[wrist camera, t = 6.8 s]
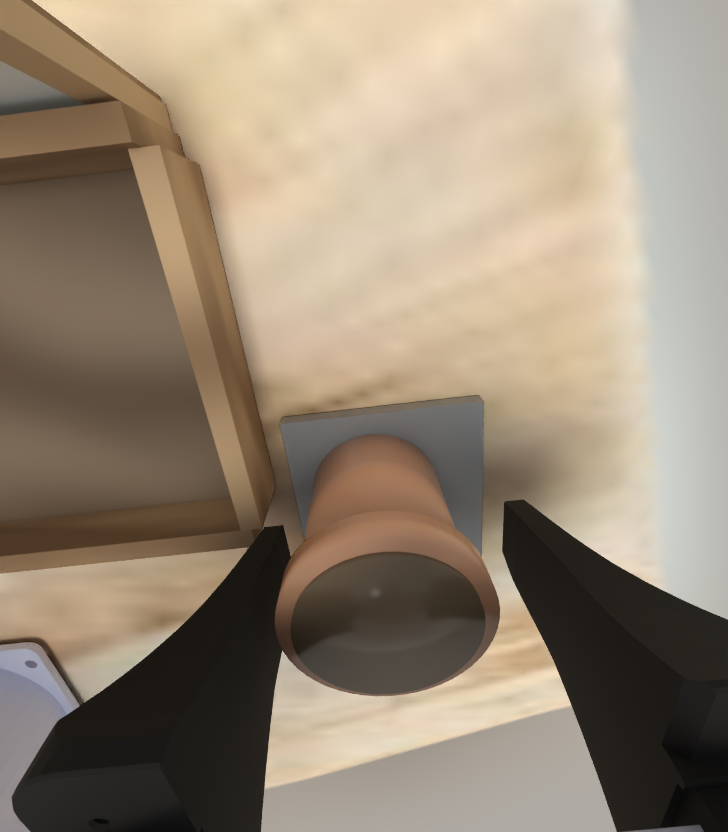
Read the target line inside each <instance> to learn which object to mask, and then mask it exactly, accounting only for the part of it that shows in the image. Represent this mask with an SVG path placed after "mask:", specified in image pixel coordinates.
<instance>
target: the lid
mask: <svg viewBox="0 0 728 832" xmlns="http://www.w3.org/2000/svg"><path fill="white" fill-rule="evenodd" d="M112 101H122V102H123V103H125V104H127V105H128V106H130V107H132V108H133V109H135V110H137V111H138V112H140V113H142V114H143V115H145V116H147V117H148V118H150V119H152V120H153V121H155V122H157V123H158V124H160V125H161V126H163V127H165V128H166V129H168V130H170V131H171V132H172V128H171V124H170V120H169V116H168V112H167V108H166V105H165V104H164V103H162V102H161V101H159V100H158V99H157V98H155V97H154V96H152V95H151V94H150V93H148V92H147V91H146V90H144V89H143V88H141V87H140V86H139V85H137V84H136V83H135V82H133V81H132V80H130V79H129V78H128V77H126V76H125V75H124V74H122V73H121V72H119V71H118V70H117V69H115V68H114V67H113V66H111V65H110V64H108V63H107V62H106V61H104V60H103V59H102V58H100V57H99V56H97V55H96V54H95V53H93V52H92V51H90V50H89V49H88V48H86V47H85V46H84V45H82V44H81V43H79V42H78V41H77V40H75V39H74V38H73V37H71V36H70V35H68V34H67V33H66V32H64V31H63V30H62V29H60V28H59V27H57V26H56V25H55V24H53V23H52V22H51V21H49V20H48V19H46V18H45V17H44V16H42V15H41V14H40V13H38V12H37V11H35V10H34V9H33V8H31V7H30V6H29V5H27V4H26V3H24V2H23V1H22V0H0V116H2V115H10V114H18V113H26V112H34V111H41V110H49V109H57V108H65V107H73V106H81V105H88V104H96V103H104V102H112Z"/></svg>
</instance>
